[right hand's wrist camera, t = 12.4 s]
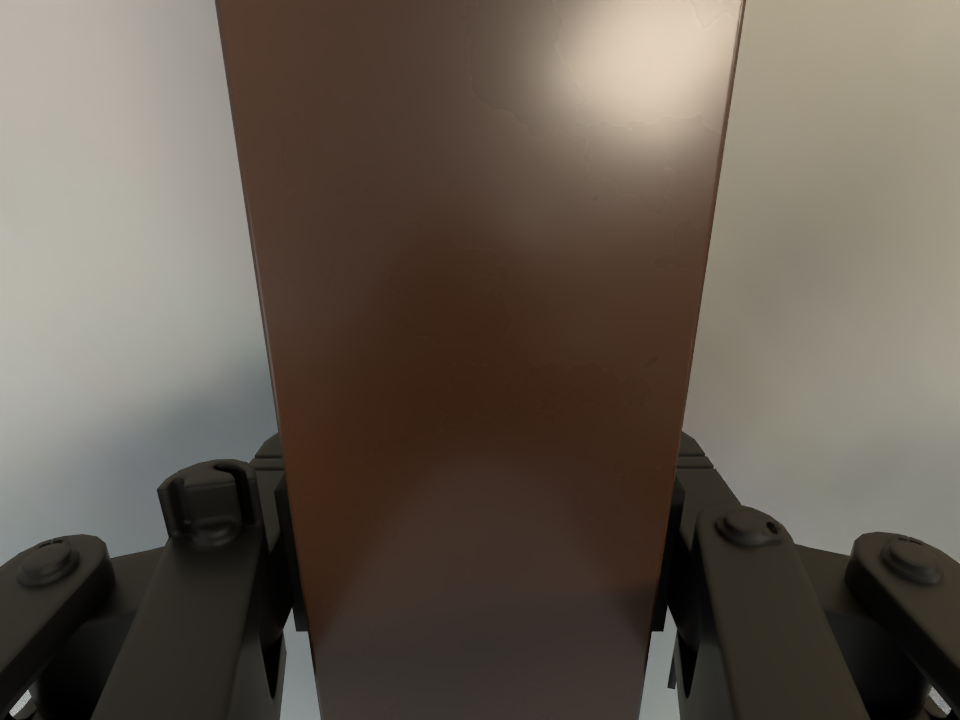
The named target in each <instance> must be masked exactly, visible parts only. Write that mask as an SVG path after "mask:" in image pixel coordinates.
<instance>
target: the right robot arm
mask: <svg viewBox="0 0 960 720" xmlns="http://www.w3.org/2000/svg"><path fill="white" fill-rule="evenodd" d="M157 492H158V496H159V500H160V504H161V508H162V512H163V516H164V520H165V524H166V528H167V532H168V536H169V538H168V541H167V543H166V545H165V546H163V547H160V548H156V549H152V550H148V551H143V552H138V553H134V554H129V555H124V556H119V557H114V558H110V556H109V553H108V550H107V546H106V543H105V542H103V541H102V540H101V539H100V538H98V537H97V536H90V535H84V534H80V535H71V536H63V537H58V538H54V539H52V540H47V541H44V542H41V543H39V544H37V545H36V546H34V547H31V548H29V549H27V550H25V551H23V552H21V553H19V554H18V555H16V556H15V557H14V558H12V559H11V560H9V561H8V562H6V563H5V564H4V565H2V566H1V567H0V720H280V712H281V702H282V693H283V683H284V674H285V664H286V654H287V652H286V646H285V640H284V634H283V628H284V626H285V623H286V621H287V618H288V616H289V613H290V611H291V608H293V614H294V620H295V627H296V631H308V628H307V621H306V614H305V608H304V601H303V594H302V587H301V580H300V574H299V567H298V560H297V553H296V547H295V540H294V533H293V526H292V519H291V513H290V506H289V499H288V492H287V486H286V479H285V472H284V465H283V458H282V452H281V445H280V438H279V432H278V433H277V434H275V435H274V436H272V437H271V438H269V439H268V440H266V441H265V442H264V444H263V445H262V446H261V448H260V449H259V451H258V452H257V453H256V455H255V459H252V461H251V462H250V463H249V464H248V463H247V462H243V461H239V460H235V459H222V460H212V461H207V462H202V463H198V464H195V465H192V466H190V467H187V468H185V469H182V470H180V471H178V472H177V473H175V474H173V475H172V476H170V477H169V478H167V479H166V480H165V481H164V482H163V483H162V484H161V485H160V487H159V488H158V489H157ZM667 605H668V607H669V609H670V612H671V614H672V617H673V619H674V622H675V624H676V627H677V634H676V640H675V645H674V651H673V657H672V663H671V668H670V674H669V681H668V687H667V688H671V689H675V685H676V682H677V691H678V701H679V711H680V720H960V564H959V563H958V562H956V561H955V560H953V559H952V558H951V557H949V556H948V555H946V554H945V553H943V552H942V551H941V550H939V549H936V548H934V547H932V546H930V545H928V544H926V543H924V542H922V541H920V540H918V539H915V538H912V537H907V536H905V535H900V534H894V533H885V532H873V533H867V534H862V535H861V536H860V537H859V538H857V539H856V540H855V541H854V545H853V548H852V551H851V555H850V556H847V555H843V554H838V553H833V552H828V551H823V550H818V549H813V548H809V547H805V546H801V545H798V544H794V542H793V540H792V537H791V536H790V534H789V533H788V532H787V530H786V529H785V528H784V526H783V525H782V524H780V523H779V522H778V521H776V520H775V519H773V518H772V517H771V516H769V515H767V514H765V513H763V512H760V511H758V510H756V509H754V508H750V507H746V506H742V505H741V504H740V502H739V501H738V499H737V498H736V497H735V495H734V494H733V492H732V491H731V490H730V488H729V487H728V485H727V484H726V483H725V481H724V480H723V478H722V477H721V476H720V474H719V473H718V471H717V470H716V469H714V468H713V464H712V463H711V462H710V460H709V459H708V457H705V453H704V452H703V451H702V449H701V448H700V446H699V445H698V444H697V442H696V441H695V439H693V438H692V437H690V436H689V435H687V434H686V433H684V432H683V431H682V432H681V439H680V446H679V453H678V459H677V466H676V473H675V479H674V486H673V493H672V499H671V506H670V513H669V520H668V526H667V533H666V540H665V546H664V553H663V560H662V566H661V573H660V580H659V586H658V593H657V600H656V607H655V613H654V620H653V627H652V631H663V630H664V624H665V618H666V611H667ZM932 686H933V687H934V688H935V690H936V691H937V692H938V693H939V694H940V696H941V697H942V698H943V699H944V700H945V702H946V703H947V704H948V705H949V706H950V708H951V711H950V713H949V714H948V715H947V714H946V713H944V712H943V711H942V710H941V709H940V708H939V707H938V706H937V704H936V703H935V702H934V701H933V700H932V698H931V697H930V696H929V693H930V691H931V688H932ZM27 690H29V692H30V695H31V699H30V700H29V701H28V702H27V704H26V705H25V706H24V707H23V708H22V709H21V710H20V711H19V712H18V713H17V714H16V715H15V716H13V717H12V716H11V715H10V713H9V711H10V710H11V709H12V708H13V706H14V705H15V704H16V703H17V702H18V700H19V699H20V698H21V697H22V696H23V694H24V693H25V692H26V691H27Z"/></svg>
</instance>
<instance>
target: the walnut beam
mask: <svg viewBox="0 0 960 720" xmlns="http://www.w3.org/2000/svg"><path fill="white" fill-rule="evenodd" d="M215 4H216V11H217V18H218V25H219V31H220V38H221V45H222V52H223V59H224V65H225V72H226V79H227V86H228V92H229V99H230V106H231V113H232V120H233V126H234V133H235V140H236V147H237V153H238V160H239V167H240V174H241V181H242V187H243V194H244V201H245V208H246V214H247V221H248V228H249V235H250V242H251V248H252V255H253V262H254V269H255V275H256V282H257V289H258V296H259V303H260V309H261V316H262V323H263V330H264V336H265V343H266V350H267V357H268V364H269V370H270V377H271V384H272V391H273V397H274V404H275V411H276V418H277V425H278V431H279V438H280V445H281V452H282V458H283V465H284V472H285V479H286V486H287V492H288V499H289V506H290V513H291V519H292V526H293V533H294V540H295V547H296V553H297V560H298V567H299V574H300V580H301V587H302V594H303V601H304V608H305V614H306V621H307V628H308V635H309V641H310V648H311V655H312V662H313V669H314V675H315V682H316V689H317V696H318V702H319V709H320V716H321V720H639V714H640V707H641V700H642V694H643V687H644V680H645V674H646V667H647V660H648V653H649V647H650V640H651V633H652V627H653V620H654V613H655V607H656V600H657V593H658V586H659V580H660V573H661V566H662V560H663V553H664V546H665V540H666V533H667V526H668V520H669V513H670V506H671V499H672V493H673V486H674V479H675V473H676V466H677V459H678V453H679V446H680V439H681V432H682V426H683V419H684V412H685V406H686V399H687V392H688V386H689V379H690V372H691V365H692V359H693V352H694V345H695V339H696V332H697V325H698V319H699V312H700V305H701V298H702V292H703V285H704V278H705V272H706V265H707V258H708V252H709V245H710V238H711V231H712V225H713V218H714V211H715V205H716V198H717V191H718V185H719V178H720V171H721V165H722V158H723V151H724V144H725V138H726V131H727V124H728V118H729V111H730V104H731V98H732V91H733V84H734V77H735V71H736V64H737V57H738V51H739V44H740V37H741V31H742V24H743V17H744V10H745V4H746V0H215Z"/></svg>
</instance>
